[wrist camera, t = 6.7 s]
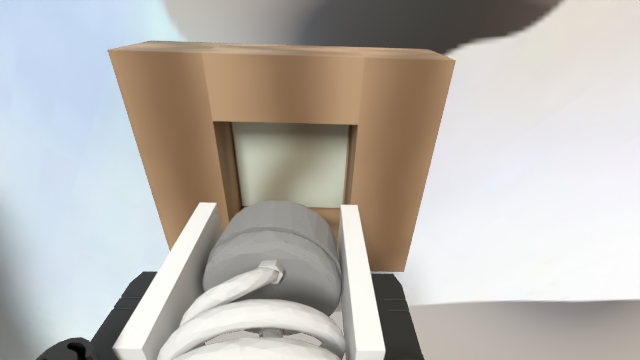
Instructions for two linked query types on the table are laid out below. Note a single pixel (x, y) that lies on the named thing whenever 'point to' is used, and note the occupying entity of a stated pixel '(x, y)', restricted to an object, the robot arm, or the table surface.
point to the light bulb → (266, 290)
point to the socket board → (287, 131)
